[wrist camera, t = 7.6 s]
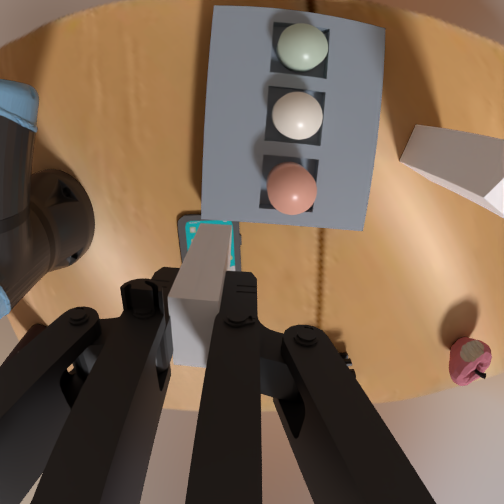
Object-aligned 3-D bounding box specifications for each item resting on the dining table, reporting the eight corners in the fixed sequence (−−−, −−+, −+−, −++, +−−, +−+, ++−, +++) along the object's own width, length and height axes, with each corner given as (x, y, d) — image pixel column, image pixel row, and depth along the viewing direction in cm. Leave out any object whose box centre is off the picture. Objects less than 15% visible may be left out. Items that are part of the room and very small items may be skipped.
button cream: (269, 135, 36) (271, 137, 32) (272, 92, 34) (275, 89, 30) (313, 139, 36) (320, 142, 32) (317, 97, 34) (324, 95, 30)
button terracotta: (264, 203, 38) (265, 213, 34) (268, 159, 36) (269, 164, 32) (307, 206, 38) (313, 216, 34) (313, 163, 36) (319, 169, 32)
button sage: (274, 69, 33) (277, 64, 29) (277, 29, 30) (280, 20, 27) (319, 74, 33) (326, 70, 29) (321, 35, 31) (329, 27, 27)
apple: (477, 320, 50) (502, 351, 41) (474, 349, 53) (496, 380, 44) (438, 339, 52) (461, 374, 42) (437, 367, 55) (456, 401, 46)
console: (205, 209, 42) (201, 219, 38) (217, 15, 31) (214, 5, 28) (353, 220, 42) (362, 231, 39) (373, 34, 32) (385, 28, 28)
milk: (415, 123, 37) (530, 143, 17) (446, 145, 38) (560, 180, 17) (398, 162, 39) (505, 208, 19) (430, 181, 40) (536, 238, 20)
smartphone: (187, 311, 48) (175, 216, 42) (188, 308, 49) (176, 214, 43) (244, 311, 48) (240, 214, 42) (244, 307, 49) (240, 211, 42)
